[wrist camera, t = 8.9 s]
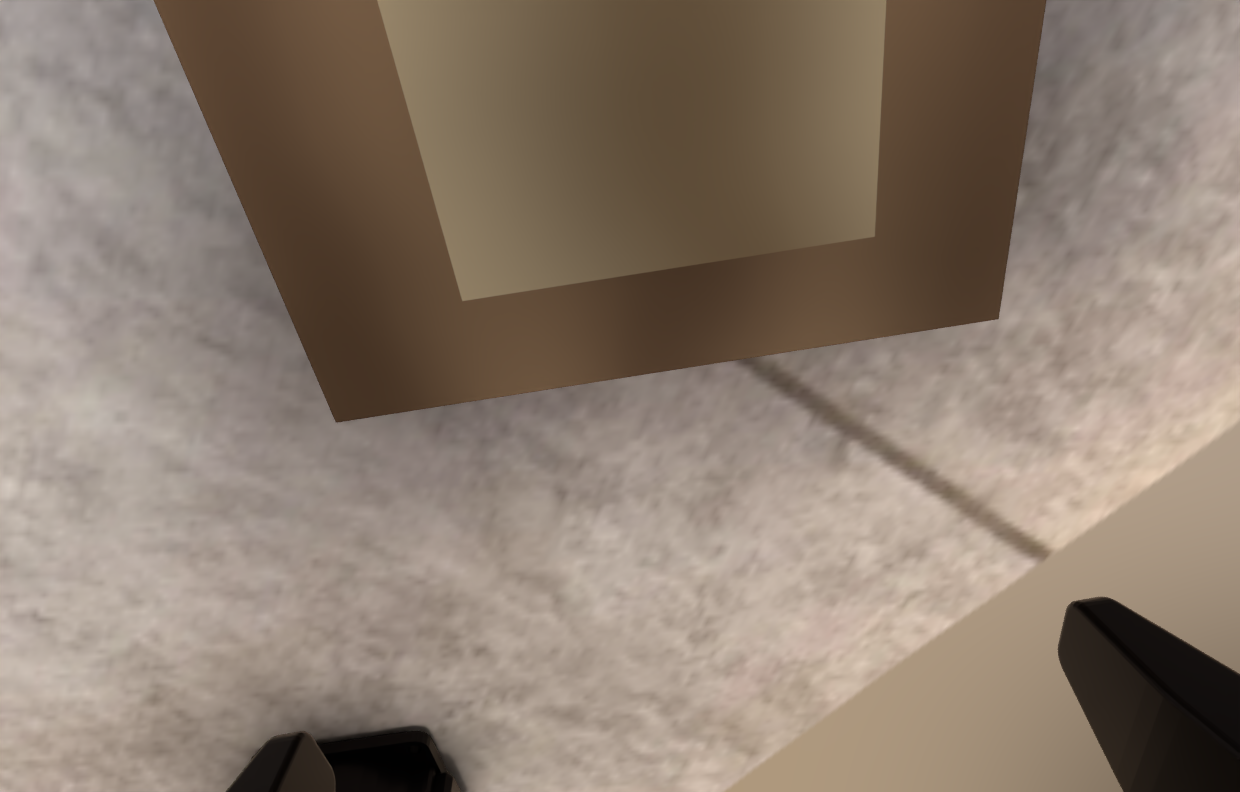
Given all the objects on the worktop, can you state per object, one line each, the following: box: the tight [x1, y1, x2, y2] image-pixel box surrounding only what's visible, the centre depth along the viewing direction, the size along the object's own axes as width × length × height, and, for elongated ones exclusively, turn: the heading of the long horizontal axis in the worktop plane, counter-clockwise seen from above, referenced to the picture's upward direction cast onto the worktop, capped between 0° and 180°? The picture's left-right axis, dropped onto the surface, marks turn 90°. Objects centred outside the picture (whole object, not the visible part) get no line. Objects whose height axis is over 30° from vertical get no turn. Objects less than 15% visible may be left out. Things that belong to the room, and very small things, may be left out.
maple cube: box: [377, 0, 886, 301], centre depth 10 cm, size 5×5×5 cm
